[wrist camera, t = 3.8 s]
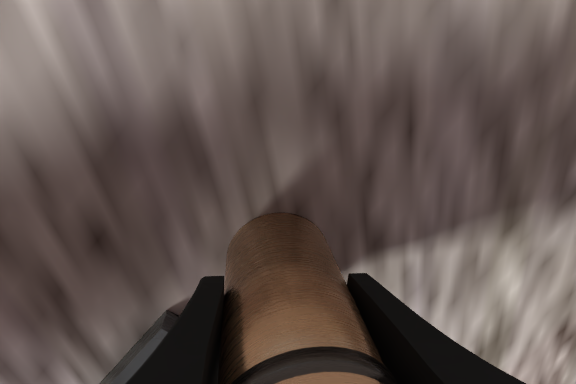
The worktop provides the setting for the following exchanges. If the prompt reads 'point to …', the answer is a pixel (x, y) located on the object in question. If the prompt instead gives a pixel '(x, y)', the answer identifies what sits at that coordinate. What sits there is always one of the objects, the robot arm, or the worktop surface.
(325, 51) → the worktop surface
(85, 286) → the worktop surface
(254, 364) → the brown banded cylinder
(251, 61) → the worktop surface
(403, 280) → the worktop surface
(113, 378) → the collar stand
